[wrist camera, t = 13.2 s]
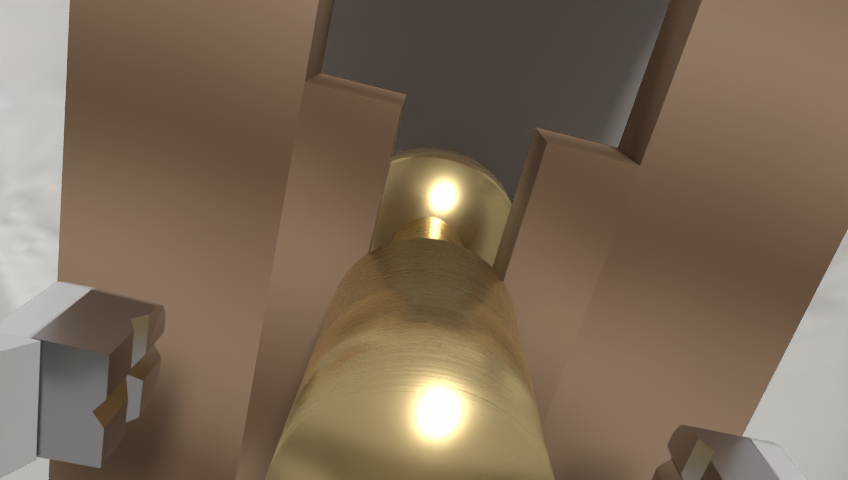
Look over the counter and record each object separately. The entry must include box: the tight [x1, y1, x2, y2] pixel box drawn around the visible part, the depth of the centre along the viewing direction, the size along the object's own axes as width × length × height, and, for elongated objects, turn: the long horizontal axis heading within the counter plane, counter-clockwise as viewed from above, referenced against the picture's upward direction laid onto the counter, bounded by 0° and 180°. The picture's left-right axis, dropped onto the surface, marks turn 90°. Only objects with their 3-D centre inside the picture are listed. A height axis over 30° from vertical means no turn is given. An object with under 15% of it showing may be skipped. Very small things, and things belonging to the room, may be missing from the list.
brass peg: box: [265, 147, 555, 480], centre depth 12 cm, size 5×5×10 cm
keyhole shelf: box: [49, 0, 848, 480], centre depth 16 cm, size 24×14×10 cm, turn 166°
